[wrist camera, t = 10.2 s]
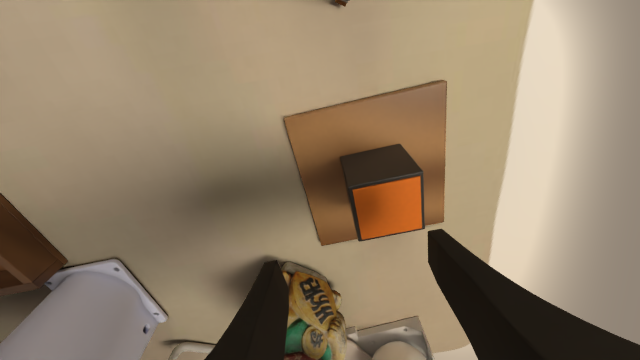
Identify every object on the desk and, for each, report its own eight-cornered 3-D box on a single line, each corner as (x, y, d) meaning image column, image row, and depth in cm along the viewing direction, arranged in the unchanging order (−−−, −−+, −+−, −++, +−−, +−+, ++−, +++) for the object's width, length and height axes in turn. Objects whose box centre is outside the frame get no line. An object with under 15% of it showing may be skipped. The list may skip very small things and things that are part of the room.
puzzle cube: (404, 193, 21) (425, 230, 17) (349, 204, 21) (358, 243, 17) (400, 142, 19) (424, 171, 15) (339, 156, 19) (347, 187, 15)
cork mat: (441, 218, 23) (444, 222, 23) (321, 241, 24) (321, 246, 24) (443, 79, 17) (447, 81, 17) (284, 117, 18) (283, 119, 18)
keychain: (346, 333, 30) (324, 340, 31) (346, 339, 29) (324, 345, 30) (389, 369, 34) (369, 373, 35) (390, 374, 34) (370, 379, 35)
